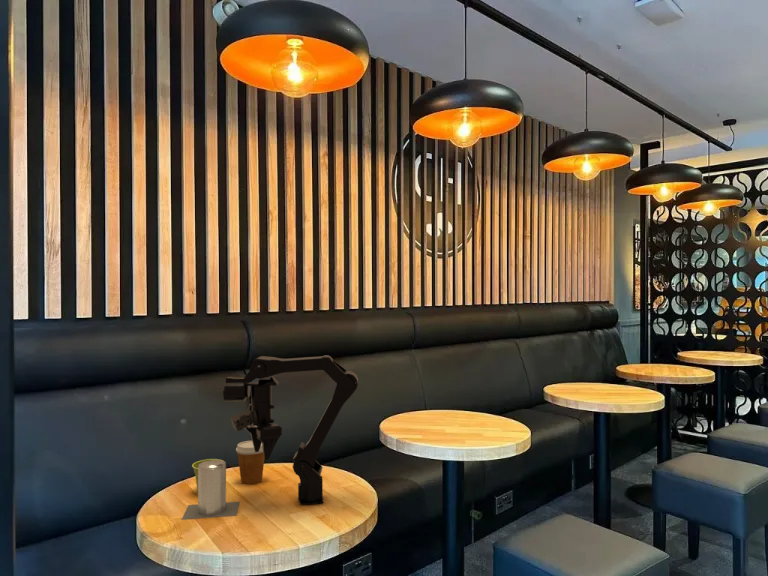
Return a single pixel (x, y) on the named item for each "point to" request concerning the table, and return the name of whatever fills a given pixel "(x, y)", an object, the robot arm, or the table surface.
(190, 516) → the charcoal mat
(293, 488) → the table surface
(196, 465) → the plant pot
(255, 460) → the disposable coffee cup
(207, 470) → the brushed metal canister
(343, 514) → the table surface
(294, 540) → the table surface
